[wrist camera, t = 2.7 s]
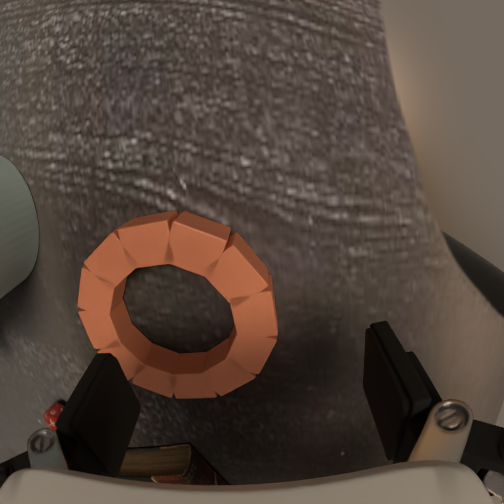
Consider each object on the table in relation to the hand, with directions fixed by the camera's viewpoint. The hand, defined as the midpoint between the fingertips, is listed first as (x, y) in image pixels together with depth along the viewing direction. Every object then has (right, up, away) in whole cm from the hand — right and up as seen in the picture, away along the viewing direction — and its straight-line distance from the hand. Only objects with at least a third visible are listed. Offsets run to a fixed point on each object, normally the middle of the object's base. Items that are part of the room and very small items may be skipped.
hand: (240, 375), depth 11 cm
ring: (-4, +1, +6) cm, 7 cm away
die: (-15, -9, +11) cm, 20 cm away
